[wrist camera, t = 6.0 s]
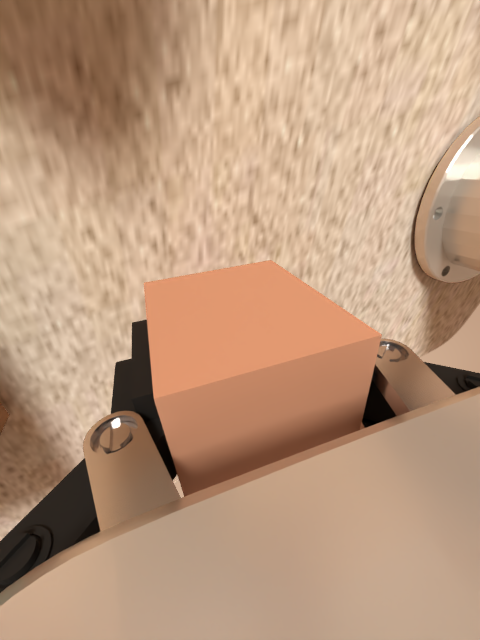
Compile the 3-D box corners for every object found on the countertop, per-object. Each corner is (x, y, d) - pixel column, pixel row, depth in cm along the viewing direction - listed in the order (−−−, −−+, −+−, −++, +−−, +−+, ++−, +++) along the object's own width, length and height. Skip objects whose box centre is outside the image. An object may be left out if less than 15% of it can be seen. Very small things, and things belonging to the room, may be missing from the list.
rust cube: (271, 260, 11) (382, 335, 6) (272, 357, 14) (351, 466, 9) (144, 282, 10) (154, 399, 5) (170, 385, 12) (195, 531, 7)
